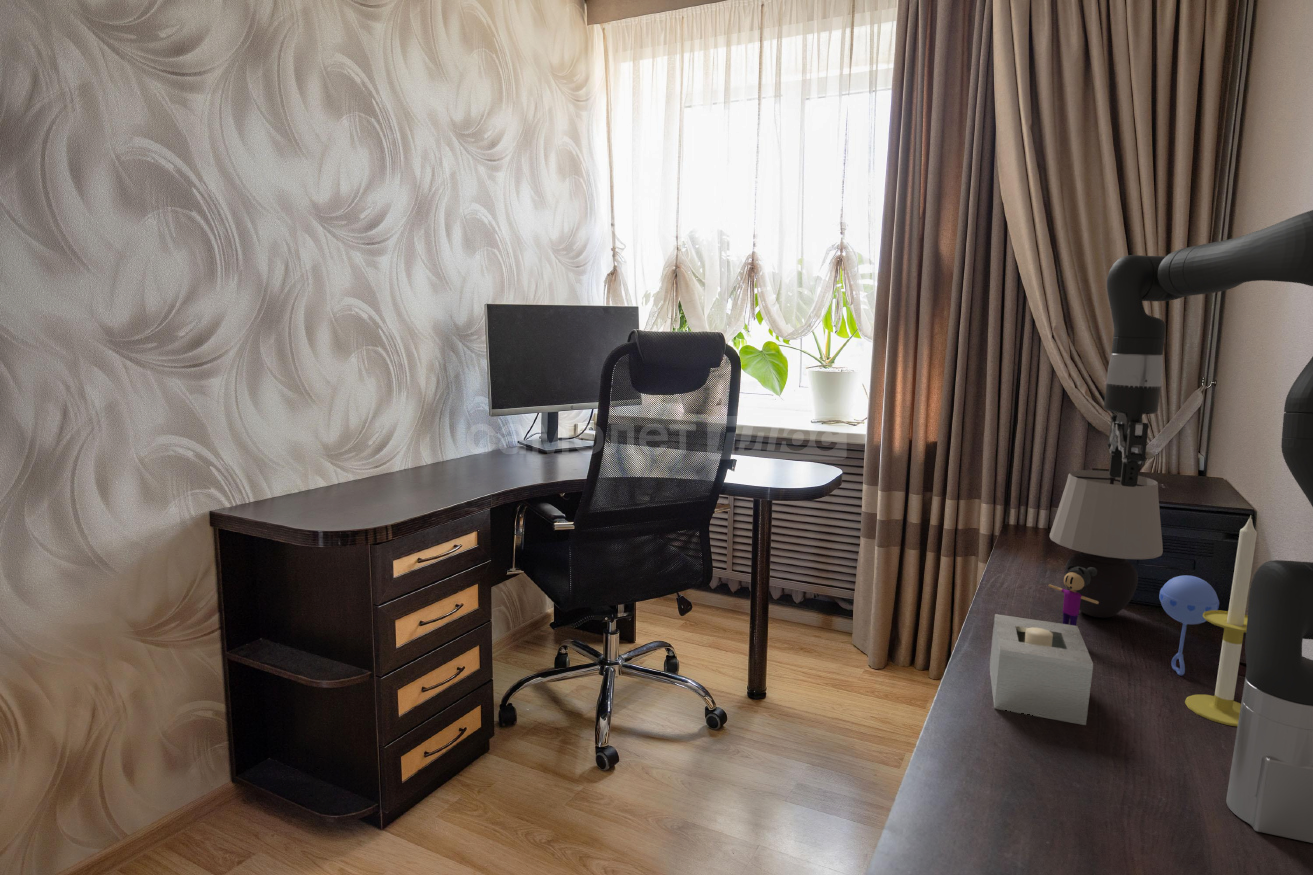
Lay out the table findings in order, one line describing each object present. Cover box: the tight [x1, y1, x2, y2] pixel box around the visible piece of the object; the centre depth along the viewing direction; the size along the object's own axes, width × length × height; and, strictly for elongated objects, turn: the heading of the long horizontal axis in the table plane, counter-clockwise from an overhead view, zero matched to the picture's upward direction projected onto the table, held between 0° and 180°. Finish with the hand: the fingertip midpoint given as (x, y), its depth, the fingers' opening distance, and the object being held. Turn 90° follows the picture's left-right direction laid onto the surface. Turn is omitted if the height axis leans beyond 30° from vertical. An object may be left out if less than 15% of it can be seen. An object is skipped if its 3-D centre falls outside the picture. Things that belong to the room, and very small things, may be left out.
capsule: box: [1025, 627, 1053, 647], centre depth 128 cm, size 4×4×10 cm
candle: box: [1184, 514, 1258, 728], centre depth 123 cm, size 10×10×32 cm
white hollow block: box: [989, 613, 1094, 726], centre depth 128 cm, size 16×13×10 cm
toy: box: [1047, 565, 1099, 626], centre depth 151 cm, size 10×6×15 cm, turn 27°
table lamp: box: [1049, 469, 1164, 619], centre depth 163 cm, size 21×21×30 cm
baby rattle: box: [1158, 575, 1220, 676], centre depth 137 cm, size 9×9×18 cm
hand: (1122, 481), depth 127 cm, fingers open, 8 cm apart
